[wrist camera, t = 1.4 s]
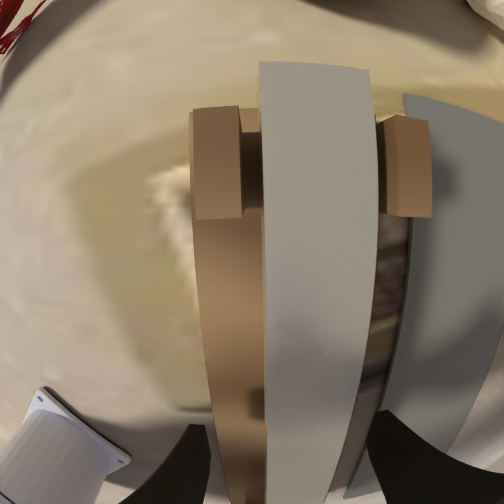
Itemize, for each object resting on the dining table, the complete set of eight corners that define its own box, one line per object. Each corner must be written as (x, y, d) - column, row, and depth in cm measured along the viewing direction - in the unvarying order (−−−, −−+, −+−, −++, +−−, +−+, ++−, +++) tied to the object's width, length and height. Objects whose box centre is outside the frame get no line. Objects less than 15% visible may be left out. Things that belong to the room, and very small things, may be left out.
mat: (431, 470, 16) (433, 472, 15) (343, 496, 16) (343, 499, 15) (515, 130, 10) (518, 130, 9) (403, 94, 10) (406, 93, 10)
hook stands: (322, 493, 15) (333, 553, 9) (232, 499, 16) (229, 561, 9) (366, 120, 10) (456, 71, 4) (194, 119, 10) (135, 51, 4)
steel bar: (296, 532, 12) (299, 555, 10) (264, 534, 12) (265, 558, 10) (338, 99, 7) (368, 69, 4) (257, 96, 7) (258, 61, 4)
